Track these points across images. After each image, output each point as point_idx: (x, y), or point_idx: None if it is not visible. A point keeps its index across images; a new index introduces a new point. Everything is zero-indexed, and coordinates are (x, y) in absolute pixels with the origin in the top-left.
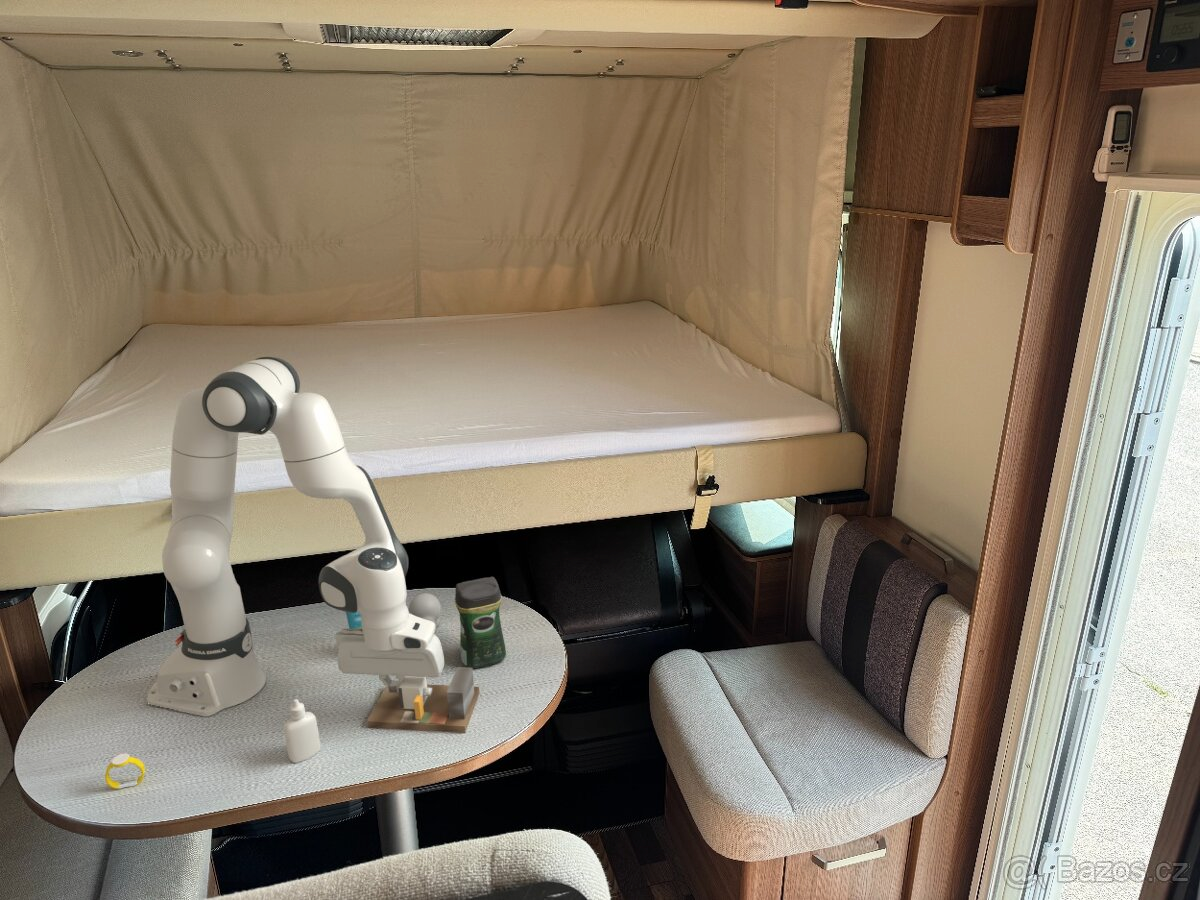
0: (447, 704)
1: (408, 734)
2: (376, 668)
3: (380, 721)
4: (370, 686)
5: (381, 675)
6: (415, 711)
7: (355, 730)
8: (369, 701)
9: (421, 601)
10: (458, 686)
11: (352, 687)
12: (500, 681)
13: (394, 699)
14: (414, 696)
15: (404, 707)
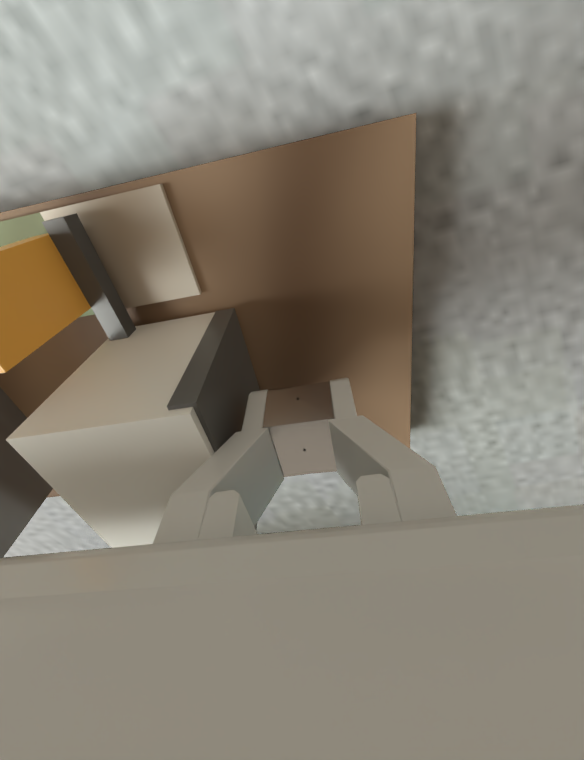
0: (45, 396)
1: (99, 135)
2: (543, 676)
3: (308, 147)
4: (485, 428)
5: (412, 508)
6: (13, 246)
7: (486, 52)
8: (463, 347)
9: None
10: None
11: (571, 408)
12: (40, 522)
13: (322, 370)
14: (103, 376)
15: (212, 315)
